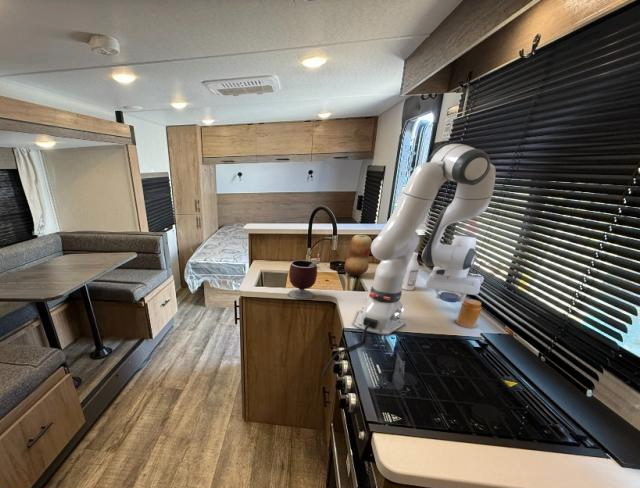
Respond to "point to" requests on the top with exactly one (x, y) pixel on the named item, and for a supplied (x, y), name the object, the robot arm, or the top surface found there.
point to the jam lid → (449, 297)
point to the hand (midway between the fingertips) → (448, 299)
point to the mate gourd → (302, 278)
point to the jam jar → (469, 313)
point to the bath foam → (411, 273)
